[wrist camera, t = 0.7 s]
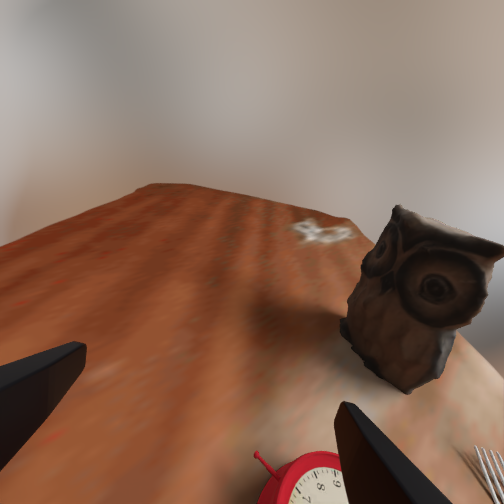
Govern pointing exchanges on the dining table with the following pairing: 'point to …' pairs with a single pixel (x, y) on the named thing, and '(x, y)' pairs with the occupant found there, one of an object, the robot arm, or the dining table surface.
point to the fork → (492, 473)
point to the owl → (416, 297)
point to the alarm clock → (305, 481)
